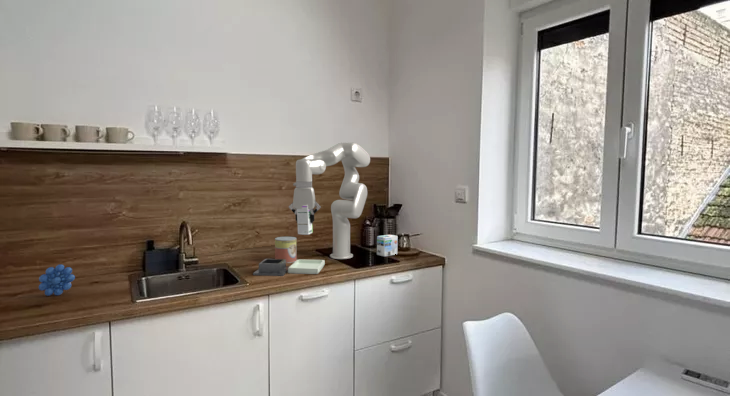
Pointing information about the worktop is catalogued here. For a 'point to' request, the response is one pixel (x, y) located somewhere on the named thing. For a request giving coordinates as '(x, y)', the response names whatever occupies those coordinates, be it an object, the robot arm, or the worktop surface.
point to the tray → (306, 266)
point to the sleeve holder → (272, 267)
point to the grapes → (56, 280)
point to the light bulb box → (387, 245)
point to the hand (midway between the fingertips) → (305, 222)
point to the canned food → (286, 249)
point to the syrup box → (304, 221)
